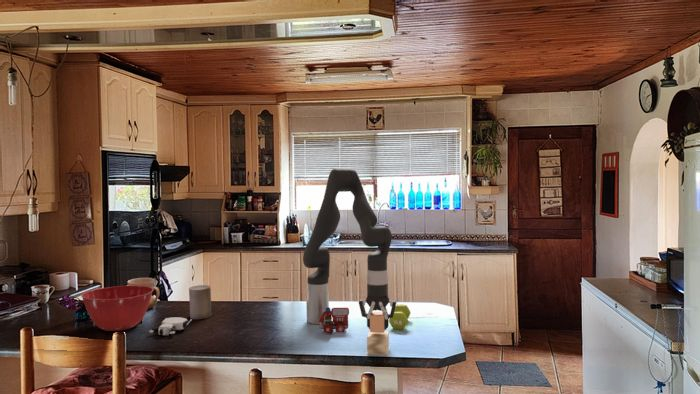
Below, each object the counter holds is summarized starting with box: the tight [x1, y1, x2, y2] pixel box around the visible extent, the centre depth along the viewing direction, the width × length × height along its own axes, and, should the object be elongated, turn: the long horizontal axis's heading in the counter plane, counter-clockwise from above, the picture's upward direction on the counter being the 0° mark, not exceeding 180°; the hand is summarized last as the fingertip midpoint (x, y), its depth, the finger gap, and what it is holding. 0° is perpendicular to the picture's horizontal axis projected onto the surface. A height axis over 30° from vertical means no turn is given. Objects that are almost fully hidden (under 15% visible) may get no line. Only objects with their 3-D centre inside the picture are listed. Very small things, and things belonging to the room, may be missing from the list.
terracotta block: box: [369, 311, 386, 333], centre depth 193 cm, size 5×5×6 cm
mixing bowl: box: [81, 285, 154, 332], centre depth 232 cm, size 28×28×15 cm
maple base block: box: [366, 331, 390, 356], centre depth 193 cm, size 7×7×6 cm
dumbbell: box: [389, 303, 411, 331], centre depth 230 cm, size 16×8×7 cm, turn 168°
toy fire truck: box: [318, 307, 350, 335], centre depth 221 cm, size 7×12×10 cm, turn 86°
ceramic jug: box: [125, 277, 160, 310], centre depth 262 cm, size 18×14×14 cm
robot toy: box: [148, 316, 193, 336], centre depth 223 cm, size 12×4×15 cm
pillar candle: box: [188, 284, 213, 320], centre depth 246 cm, size 10×10×15 cm
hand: (377, 328), depth 193 cm, fingers closed on terracotta block, 5 cm apart
